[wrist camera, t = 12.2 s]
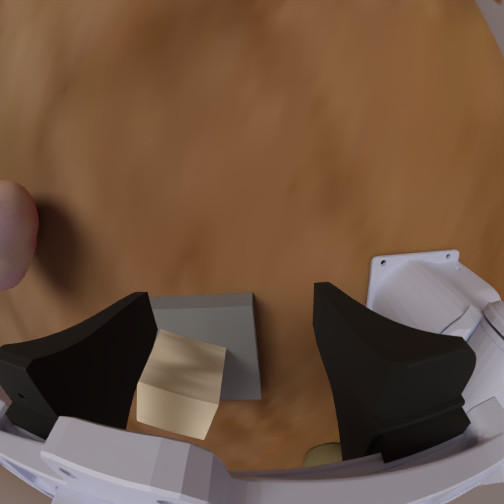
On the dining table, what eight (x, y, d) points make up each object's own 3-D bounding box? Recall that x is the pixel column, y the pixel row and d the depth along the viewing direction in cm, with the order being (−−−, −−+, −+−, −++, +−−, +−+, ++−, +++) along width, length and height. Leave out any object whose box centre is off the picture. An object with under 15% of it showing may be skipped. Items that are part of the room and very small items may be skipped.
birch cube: (226, 347, 21) (218, 404, 16) (212, 388, 23) (203, 439, 18) (161, 329, 21) (137, 380, 15) (155, 371, 23) (136, 420, 17)
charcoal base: (252, 289, 22) (251, 305, 20) (261, 381, 26) (261, 399, 24) (129, 294, 23) (118, 309, 20) (160, 380, 27) (154, 396, 24)
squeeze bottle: (352, 432, 30) (377, 542, 13) (350, 454, 32) (369, 546, 16) (294, 445, 31) (303, 558, 14) (301, 465, 33) (309, 559, 16)
